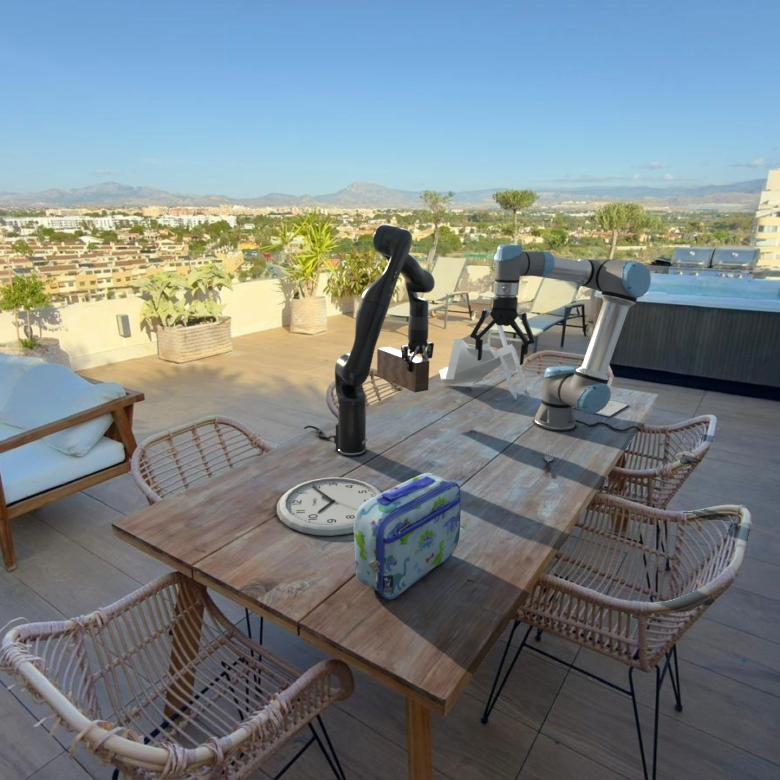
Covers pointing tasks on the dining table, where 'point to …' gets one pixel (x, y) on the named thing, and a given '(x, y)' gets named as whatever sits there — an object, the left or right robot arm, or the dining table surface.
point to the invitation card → (611, 408)
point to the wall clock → (324, 505)
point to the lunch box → (406, 533)
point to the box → (402, 370)
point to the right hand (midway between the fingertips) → (500, 361)
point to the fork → (548, 460)
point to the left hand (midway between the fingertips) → (416, 370)
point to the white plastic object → (481, 363)
